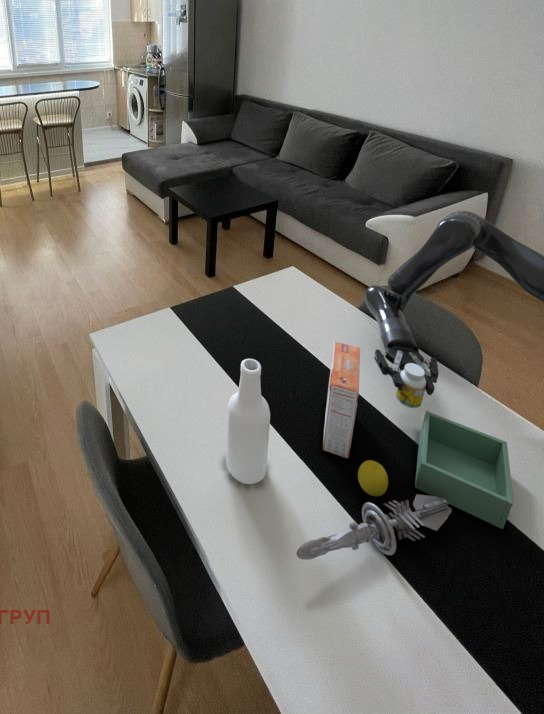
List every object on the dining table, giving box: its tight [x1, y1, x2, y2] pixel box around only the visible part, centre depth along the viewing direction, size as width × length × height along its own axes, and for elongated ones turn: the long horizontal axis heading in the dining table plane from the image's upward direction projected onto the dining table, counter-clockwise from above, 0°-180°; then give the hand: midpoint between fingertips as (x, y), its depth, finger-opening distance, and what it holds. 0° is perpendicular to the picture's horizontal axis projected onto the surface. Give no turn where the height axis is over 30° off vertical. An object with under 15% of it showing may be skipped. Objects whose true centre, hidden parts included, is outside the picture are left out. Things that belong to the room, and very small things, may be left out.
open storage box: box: [414, 410, 514, 530], centre depth 90 cm, size 15×15×8 cm
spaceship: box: [295, 494, 453, 561], centre depth 80 cm, size 8×35×8 cm
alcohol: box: [225, 358, 271, 485], centre depth 91 cm, size 9×9×30 cm
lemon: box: [357, 459, 389, 497], centre depth 89 cm, size 6×6×8 cm
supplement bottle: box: [395, 363, 426, 409], centre depth 101 cm, size 5×5×10 cm
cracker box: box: [322, 341, 361, 460], centre depth 99 cm, size 14×6×21 cm, turn 154°
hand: (415, 389), depth 99 cm, fingers closed on supplement bottle, 5 cm apart
